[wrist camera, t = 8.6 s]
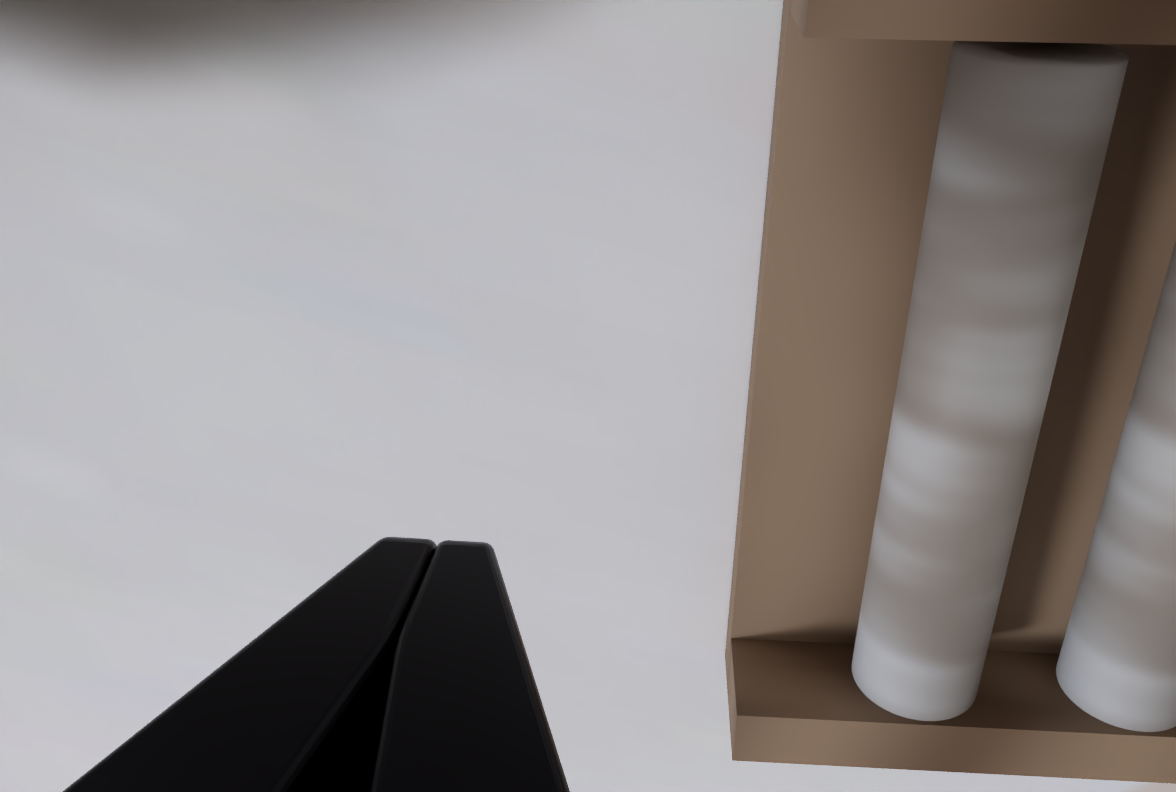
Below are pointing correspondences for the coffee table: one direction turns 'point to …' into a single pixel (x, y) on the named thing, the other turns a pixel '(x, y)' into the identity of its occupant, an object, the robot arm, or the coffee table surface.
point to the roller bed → (855, 378)
